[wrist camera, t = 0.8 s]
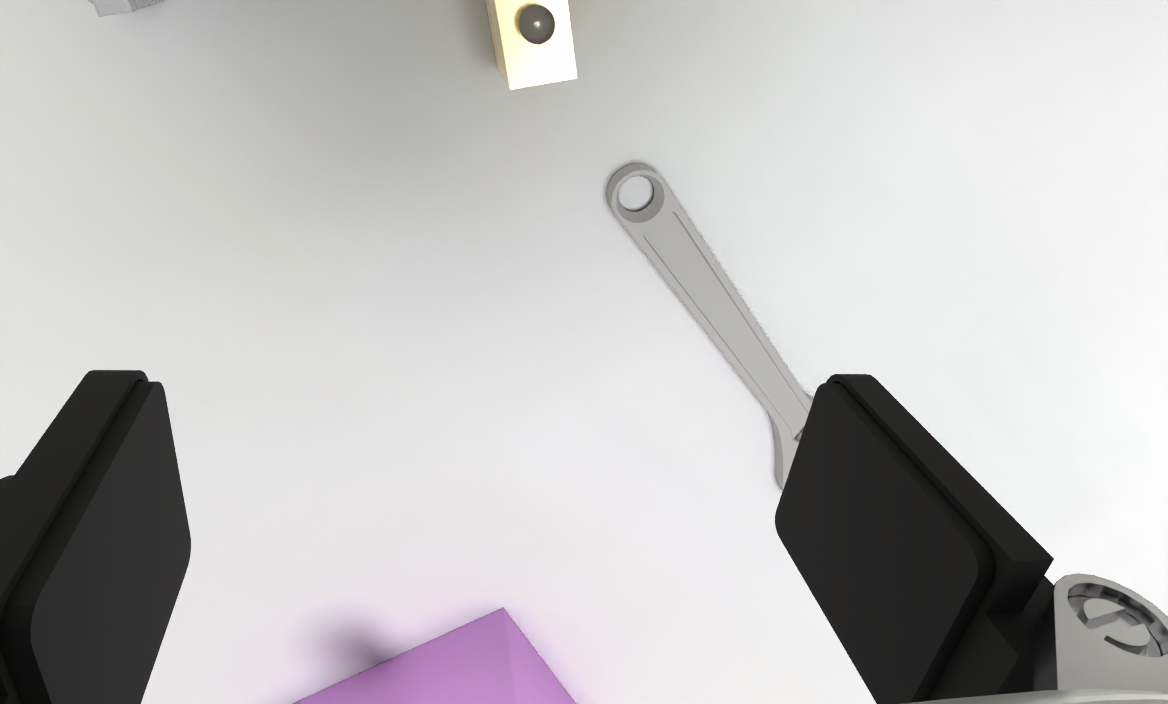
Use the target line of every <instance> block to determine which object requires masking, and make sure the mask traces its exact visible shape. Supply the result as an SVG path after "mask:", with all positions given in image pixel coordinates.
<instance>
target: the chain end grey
mask: <svg viewBox="0 0 1168 704" xmlns="http://www.w3.org/2000/svg"><path fill="white" fill-rule="evenodd" d="M88 1H89V2H91V3H93V4H94V6H95V8H96V11H97V13H98V15H99V17H100V16H107V15H113V14H120V13H127V12H133V11H136V10H139V9H142V8H145V7H148V6H150V5H153V4H156V3H159V2H162V1H163V0H88Z"/></svg>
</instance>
